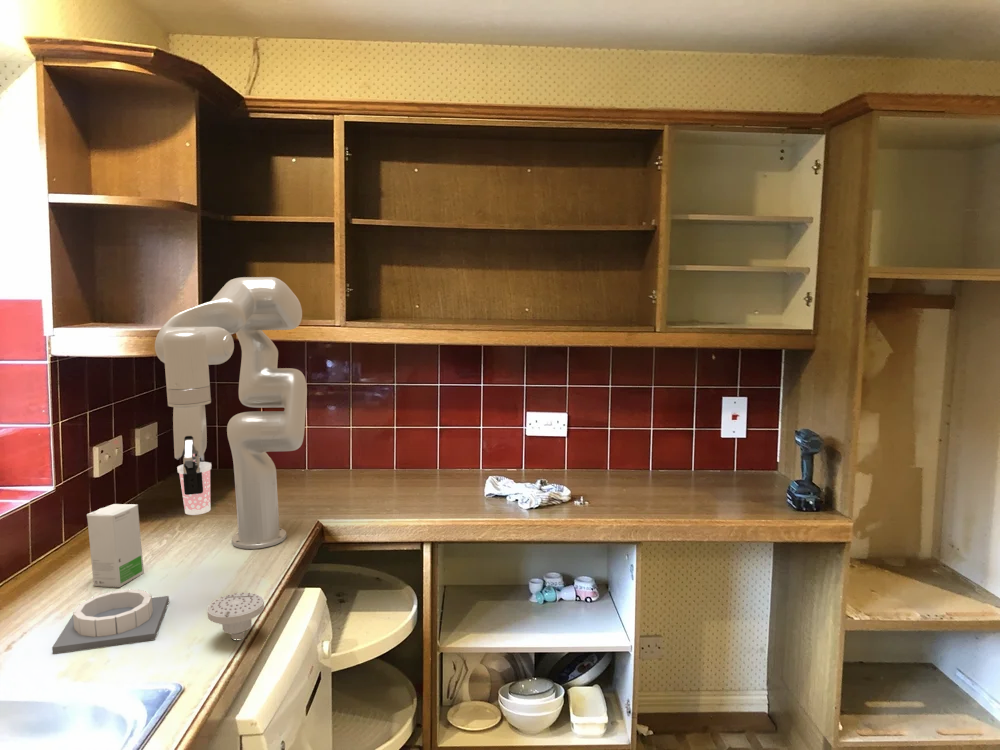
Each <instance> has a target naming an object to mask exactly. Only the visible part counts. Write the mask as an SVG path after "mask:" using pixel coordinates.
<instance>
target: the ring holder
mask: <svg viewBox="0 0 1000 750" xmlns="http://www.w3.org/2000/svg"><path fill="white" fill-rule="evenodd" d="M169 597H170V596H169V595H163V596H156V597H152V595H151V594H150V593H149V592H147V591H146V590H139V589H132V588H131V589H121V590H114V591H108V592H105V593H102V594H98V595H95V596H92V597H90V598H88V599H86V600H85V601H83V602H80V603H79V604H78V605H77V606H76V608H75V609H74V611H72V616H71V617H70V618H69V620H68V622H67V624H66V625H65V626H64V628H63V630H62V631H61V633H60V634H59V636H58V638H57V639H56V640H55V642H54V644H53V645H52V647H51V651H52V655H55V654H56V655H57V654H62V653H71V652H78V651H85V650H92V649H98V648H99V649H101V648H106V647H114V646H119V645H126V644H127V645H129V644H136V643H142V642H149V641H155V640H156V638H157V635H158V633H159V630H160V628H161V625H162V621H163V618H164V617H163V616H165V613H166V612H167V608H168V606H167V605H169V603H168V602H170V598H169Z"/></svg>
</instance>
